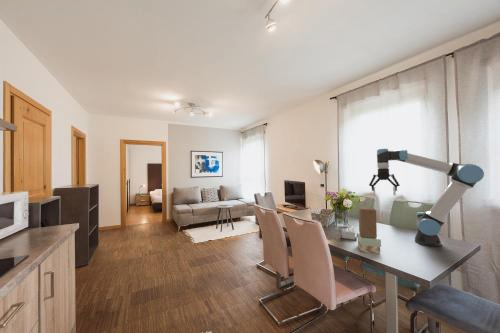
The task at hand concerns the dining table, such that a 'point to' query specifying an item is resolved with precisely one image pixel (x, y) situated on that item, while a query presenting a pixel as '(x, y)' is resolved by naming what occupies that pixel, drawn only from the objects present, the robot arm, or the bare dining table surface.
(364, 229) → the wooden block
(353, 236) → the white toy machine
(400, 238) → the dining table surface
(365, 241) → the tower top
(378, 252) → the tower base
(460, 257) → the dining table surface
